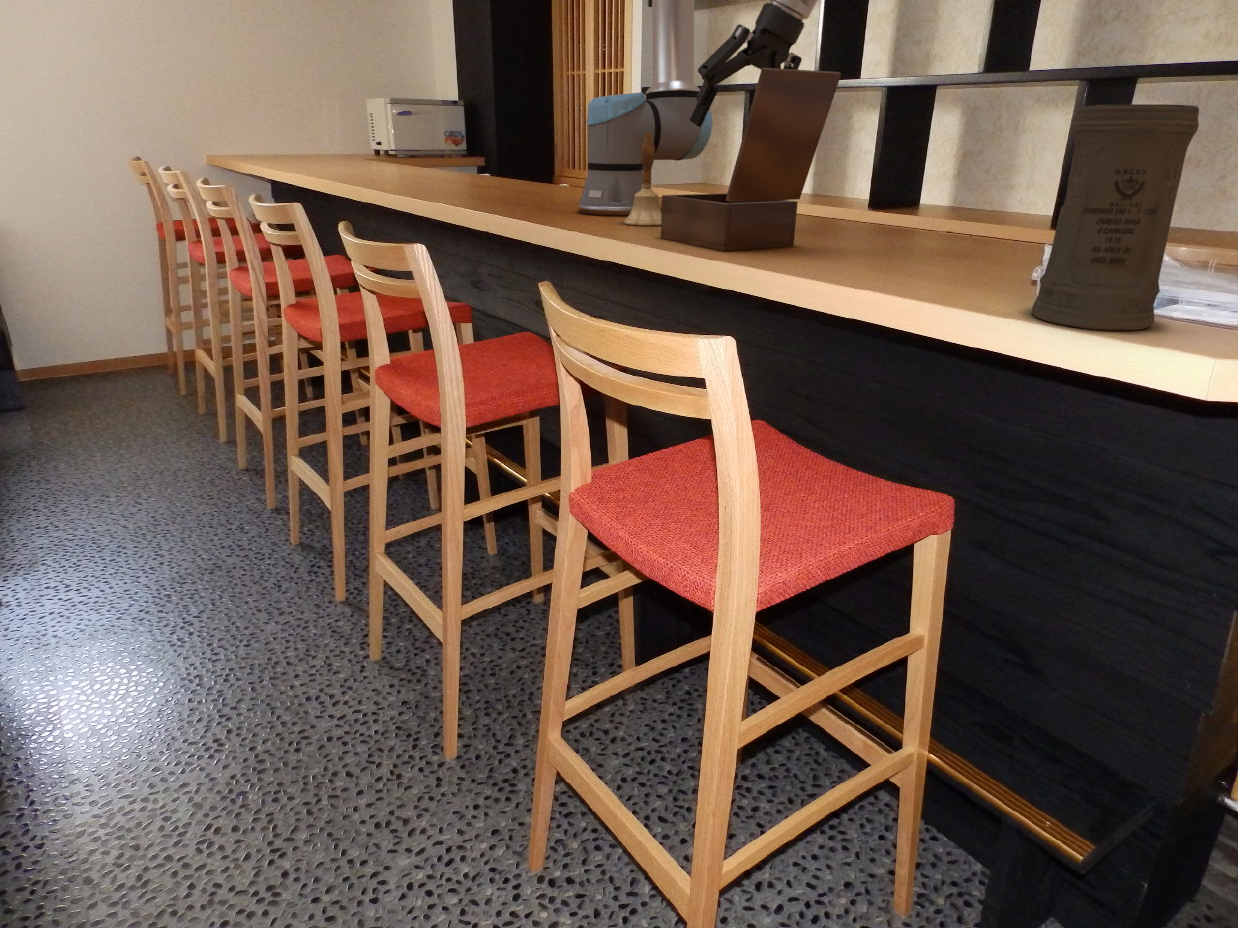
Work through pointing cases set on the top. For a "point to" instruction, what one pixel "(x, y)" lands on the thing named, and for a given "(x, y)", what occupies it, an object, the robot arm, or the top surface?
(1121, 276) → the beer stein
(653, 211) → the wooden handled brush
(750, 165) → the chest lid
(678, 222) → the chest
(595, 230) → the top surface
